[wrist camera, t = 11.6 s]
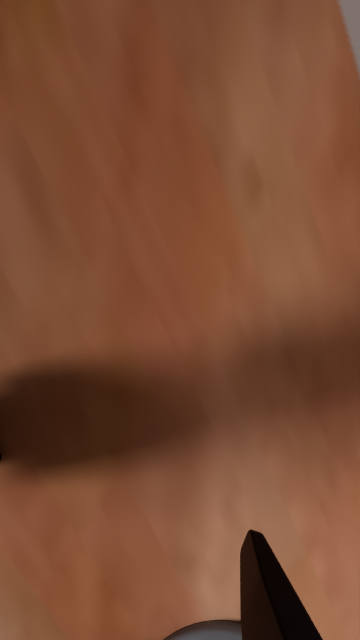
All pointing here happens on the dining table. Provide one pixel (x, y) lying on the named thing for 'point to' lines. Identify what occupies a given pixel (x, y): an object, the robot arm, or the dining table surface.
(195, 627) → the holder
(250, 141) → the dining table surface
